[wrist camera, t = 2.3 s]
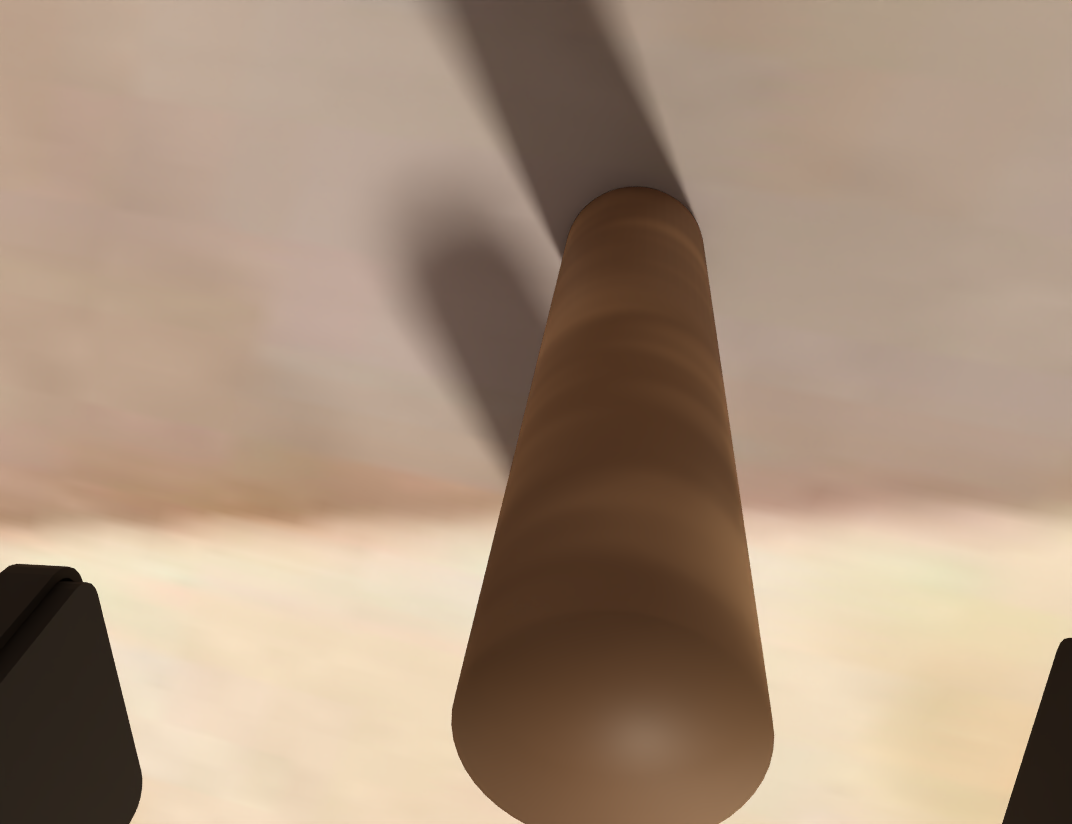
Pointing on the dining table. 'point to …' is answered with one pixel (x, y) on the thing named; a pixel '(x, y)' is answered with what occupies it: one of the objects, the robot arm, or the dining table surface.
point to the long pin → (620, 553)
